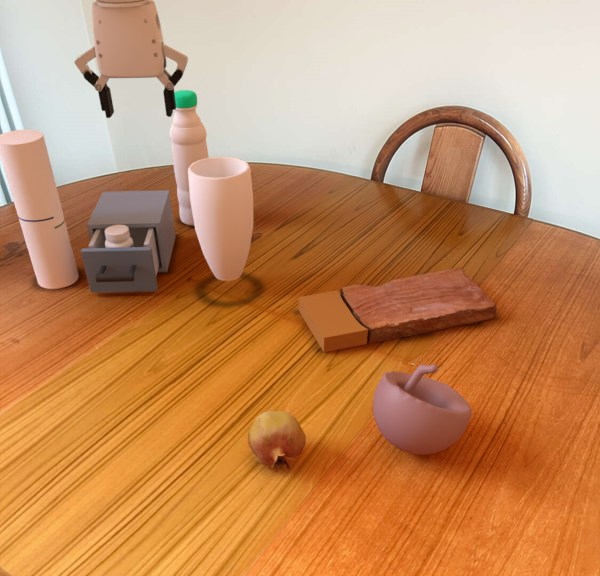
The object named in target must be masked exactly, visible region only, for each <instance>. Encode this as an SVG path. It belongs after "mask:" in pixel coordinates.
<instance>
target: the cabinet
mask: <svg viewBox="0 0 600 576" xmlns="http://www.w3.org/2000/svg"><path fill="white" fill-rule="evenodd" d="M173 214H174V213H173V206H172V200H171V193H170V190H169V189H166V190H164V189H163V190H162V189H161V190H115V191H113V190H111V191H102V193H101V195H100V197H99V198H98V201H97V203H96V205H95V207H94V208H93V211H92V213H91V215H90V217H89V219H88V221H87V223H86V229H87V233H88V236H89V241H91V239H92V237H93V235H94V233H95V231H96V229H100V228H108V227H110V226H113V225H125V226H127V227H128V228H146V227H156V232H157V239H158V245H159V251H160V258H161V261H160V264H159V268H158V272H157V273H167V272H168V269H169V265H170V261H171V258H172V253H173V249H174V245H175V242H176V237H177V236H176V230H175V221H174V215H173Z"/></svg>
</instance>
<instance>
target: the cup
mask: <svg viewBox="0 0 600 576" xmlns="http://www.w3.org/2000/svg"><path fill="white" fill-rule="evenodd" d="M188 178H189V191H190V201H191V207H192V213H193V219H194V225H195V226H194V231H195V234H196V236H197V239H198V242H199V246H200V249H201V252H202V254H203V256H204V259H205V261H206V263H207V265H208V267H209V269H210V271H211V272H212V274H213V275H214V277H215V278H216V280H219V281H222V282H230V281H231V282H232V281H236V280H238V279H239V278H241V277H242V275H243V271H244V269H245V267H246V264H247V260H248V257H249V253H250V249H251V243H252V237H253V231H254V192H253V180H252V171H251V166H250V164H249V162H248V161H246V160H243V159H242V158H238V157H234V156H211V157H209V158H205V159H201V160H198V161H196V162H194V163H192V164H191V166H190V167H189V168H188Z"/></svg>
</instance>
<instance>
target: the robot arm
mask: <svg viewBox="0 0 600 576" xmlns="http://www.w3.org/2000/svg"><path fill="white" fill-rule="evenodd" d="M91 5H92V7H91V8H92V9H91V10H92V12H91V13H92V14H91V15H92V17H91V18H92V31H93V32H92V33H93V43H94V46H92V47H91V48H89V49H88V50H86V51H85V52H84V53H82V54H81V55H79V56H77V57H76V58H75V59H74V64H75V66H76V68H77V69H78V71H79V73H81V74H82V76H83V78H84V80H85V81H86V82H88V83H89V84H90V85H91V86H93V88H94V90H95V91H96V92H97V93H98V99H99V104H100V109H101V111H102V112H105V117H106V119H111V117H112V116H113V115H114V113H115V109H114V103H113V98H112V97H113V96H112V92H111V88H110V86H108V81H109V80H110V79H150V78H156V79H157V80H158V81H159V82H160V83H161V84H162V85H163V86H164V89H163V92H162V93H163V101H164V106H165V107H164V108H165V115H166V117H168V118H171V117H172V116H173V113H174V111H175V110H176V101H175V93H174V92H175V87H176V85H178V83H179V82H180V81H181V79H182V77H183V76H184V73H185V71H186V67H187V65H188V63H189V57H188V55H186V54H184V53H182V52H180V51H178V50H176V49H174V48H172V47H171V46H168V45H167V44H165V41H164V35H163V31H162V30H163V29H162V26H161V22H160V16H159V13H158V10H157V6H156V3H155V0H95V1H94V2H93V3H92V4H91ZM95 58H96V65H97V69H98V71H99V74H100V75H97V74H96V73H95V72H94V71H93V70H92V69H91V68H90V66H89V64H88V63H89V62H91V61H92V60H94V59H95ZM167 58H168V59H170V60H172V61H174V62H176V64H177V66H176V69H175V70H174V71H173V73H172V74H171V73H170V72H168V70H167V69H166V68H167V63H168V62H167Z"/></svg>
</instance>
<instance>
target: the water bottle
mask: <svg viewBox="0 0 600 576" xmlns="http://www.w3.org/2000/svg"><path fill="white" fill-rule="evenodd" d="M174 93H175V101H176V110H174V116H173V118H172V123H171V126H170V128H169V139H170V141H171V157H172V165H173V172H174V173H173V174H174V178H175V183H176V196H177V197H176V198H177V201H178V212H179V219H180V221H181V222H182V224H185V225H187V226H189V227H190V226H191V227H192V226H193V227H195V225H194V219H193V213H192V207H191V201H190V191H189V178H188V168H189V167H190V166H191V164H192V163H194V162H196V161H198V160H201V159H205V158H210V157H209V149H208V143H207V129H206V127H205V126H204V124H203V122H202V121H201V118H200V115H198V113H197V111H196V110H197V108H198V97H197V93H196V92H195V91H193V90H189V89H181V90H176V91H174Z"/></svg>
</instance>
